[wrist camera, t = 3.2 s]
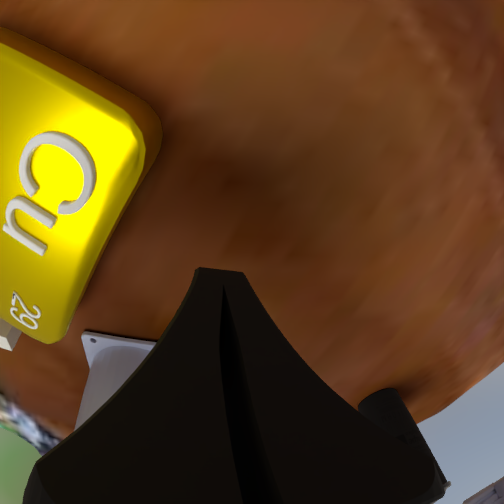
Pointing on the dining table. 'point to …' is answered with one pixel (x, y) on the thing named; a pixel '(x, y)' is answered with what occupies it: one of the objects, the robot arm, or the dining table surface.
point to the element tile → (62, 179)
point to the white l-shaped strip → (8, 335)
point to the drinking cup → (397, 422)
